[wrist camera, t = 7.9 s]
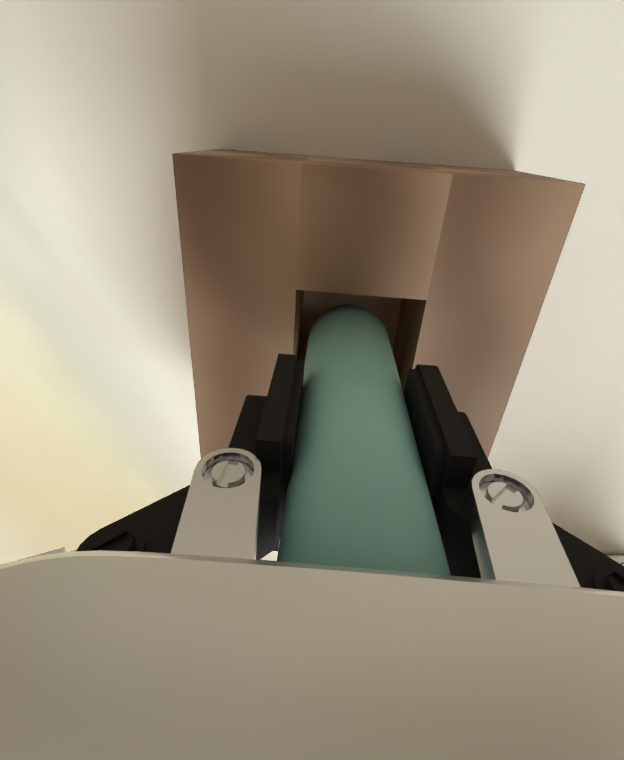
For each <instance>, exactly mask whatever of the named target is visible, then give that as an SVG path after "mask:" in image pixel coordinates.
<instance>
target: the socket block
mask: <svg viewBox="0 0 624 760" xmlns="http://www.w3.org/2000/svg"><path fill="white" fill-rule="evenodd" d="M172 155H173V165H174V176H175V187H176V197H177V208H178V219H179V229H180V240H181V251H182V261H183V272H184V283H185V293H186V304H187V315H188V325H189V336H190V347H191V357H192V368H193V379H194V389H195V400H196V411H197V422H198V432H199V443H200V454H201V459H202V458H203V457H204V456H205V455H207V454H209V453H211V452H213V451H216V450H220V449H225V448H228V447H229V444H230V441H231V438H232V436H233V433H234V430H235V427H236V424H237V421H238V418H239V415H240V413H241V410H242V407H243V404H244V401H245V398H246V396H247V395H258V396H267V395H268V391H269V387H270V383H271V380H272V376H273V372H274V368H275V365H276V361H277V357H278V354H279V353H280V354H293V355H298V360H304V365H305V358H306V351H307V343H308V336H309V332H310V329H311V327H312V325H313V323H314V322H315V320H316V319H317V318H318V317H319V316H320V315H321V314H322V313H324V312H325V311H327V310H328V309H330V308H333V307H335V306H339V305H346V304H352V305H359V306H362V307H365V308H367V309H369V310H371V311H373V312H374V313H375V314H376V315H377V316H378V317H379V318H380V319H381V320H382V321H383V323H384V325H385V327H386V330H387V333H388V337H389V340H390V344H391V348H392V352H393V356H394V360H395V363H396V367H397V371H398V375H399V379H400V383H401V386H402V390H403V393H404V388H405V384H406V379H407V374H408V370H409V369H415V367H416V365H417V364H421V365H433V366H438V368H439V370H440V372H441V375H442V377H443V379H444V382H445V384H446V386H447V388H448V391H449V393H450V395H451V397H452V400H453V402H454V404H455V406H456V409H457V411H459V412H464V413H466V415H467V416H468V418H469V420H470V423H471V425H472V427H473V429H474V431H475V433H476V435H477V438H478V440H479V442H480V444H481V446H482V448H483V450H484V452H485V455H486V457H487V459H488V456H489V453H490V450H491V447H492V445H493V442H494V439H495V436H496V433H497V431H498V428H499V425H500V422H501V419H502V417H503V414H504V411H505V408H506V405H507V403H508V400H509V397H510V394H511V391H512V389H513V386H514V383H515V380H516V377H517V375H518V372H519V369H520V366H521V363H522V361H523V358H524V355H525V352H526V349H527V347H528V344H529V341H530V338H531V335H532V333H533V330H534V327H535V324H536V321H537V319H538V316H539V313H540V310H541V307H542V305H543V302H544V299H545V296H546V293H547V291H548V288H549V285H550V282H551V279H552V277H553V274H554V271H555V268H556V265H557V263H558V260H559V257H560V254H561V251H562V249H563V246H564V243H565V240H566V237H567V235H568V232H569V229H570V226H571V223H572V221H573V218H574V215H575V212H576V209H577V207H578V204H579V201H580V198H581V195H582V193H583V190H584V187H585V184H583V183H577V182H572V181H567V180H561V179H556V178H551V177H545V176H540V175H534V174H529V173H524V172H518V171H509V170H495V169H481V168H468V167H454V166H440V165H426V164H413V163H399V162H385V161H372V160H358V159H344V158H330V157H317V156H303V155H289V154H276V153H262V152H248V151H235V150H221V149H218V150H207V151H197V152H186V153H175V154H172Z"/></svg>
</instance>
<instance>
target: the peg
mask: <svg viewBox="0 0 624 760" xmlns="http://www.w3.org/2000/svg"><path fill="white" fill-rule="evenodd" d="M277 561H280V562H293V563H306V564H318V565H331V566H343V567H355V568H367V569H378V570H390V571H402V572H414V573H426V574H437V575H449V576H451V574H450V570H449V566H448V562H447V558H446V555H445V551H444V547H443V543H442V539H441V535H440V532H439V528H438V524H437V520H436V516H435V513H434V509H433V505H432V501H431V497H430V493H429V490H428V486H427V482H426V478H425V474H424V470H423V467H422V463H421V459H420V455H419V451H418V448H417V444H416V440H415V436H414V432H413V428H412V425H411V421H410V417H409V413H408V409H407V405H406V402H405V398H404V394H403V390H402V386H401V383H400V379H399V375H398V371H397V367H396V363H395V360H394V356H393V352H392V348H391V344H390V340H389V337H388V333H387V330H386V327H385V325H384V323H383V321H382V320H381V319H380V318H379V317H378V316H377V315H376V314H375V313H374V312H373V311H371V310H369V309H367V308H365V307H362V306H359V305H352V304H346V305H339V306H335V307H333V308H330V309H328V310H327V311H325V312H324V313H322V314H321V315H320V316H319V317H318V318H317V319H316V320H315V322H314V323H313V325H312V327H311V329H310V332H309V336H308V343H307V351H306V358H305V365H304V378H303V390H302V398H301V405H300V413H299V420H298V428H297V435H296V443H295V450H294V458H293V465H292V473H291V480H290V482H289V484H288V487H287V493H286V500H285V508H284V515H283V522H282V529H281V536H280V543H279V550H278V557H277Z"/></svg>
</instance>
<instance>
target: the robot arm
mask: <svg viewBox="0 0 624 760" xmlns="http://www.w3.org/2000/svg"><path fill="white" fill-rule="evenodd" d="M303 378H304V360H298V355H293V354H280V353H279V354H278V357H277V361H276V365H275V368H274V372H273V376H272V380H271V383H270V387H269V391H268V395H267V396H258V395H247V396H246V398H245V401H244V404H243V407H242V410H241V413H240V415H239V418H238V421H237V424H236V427H235V430H234V433H233V436H232V438H231V441H230V444H229V447H228V448H225V449H220V450H216V451H213V452H211V453H209V454H207V455H205V456H204V457H203V458H202V459H201V460H200V461H199V462H198V464H197V465H196V467H195V470H194V473H193V477H192V480H191V484H190V485H189V486H187V487H185V488H183V489H181V490H179V491H177V492H175V493H173V494H171V495H169V496H167V497H164V498H162V499H160V500H158V501H156V502H154V503H152V504H150V505H148V506H146V507H144V508H142V509H140V510H138V511H136V512H134V513H132V514H130V515H128V516H126V517H124V518H122V519H120V520H118V521H116V522H114V523H112V524H110V525H108V526H106V527H104V528H102V529H100V530H98V531H96V532H95V533H93V534H92V535H90V536H89V537H88V538H87V539H86V540H85V541H84V542H83V543H81V544H80V546H79V547H78V549H77V550H74V551H71V552H66V550H65V547H63V548H60V549H56V550H53V551H49V552H46V553H42V554H39V555H35V556H32V557H28V558H24V559H21V560H17V561H14V562H10V563H5V564H1V565H0V760H624V566H623V565H621V564H619V563H618V562H616V561H614V560H613V559H611V558H610V557H608V556H606V555H605V554H603V553H601V552H600V551H598V550H596V549H595V548H593V547H591V546H590V545H588V544H587V543H585V542H583V541H582V540H580V539H578V538H577V537H575V536H573V535H572V534H570V533H568V532H567V531H565V530H563V529H562V528H560V527H559V526H557V525H555V524H554V523H552V522H551V519H550V517H549V515H548V513H547V510H546V508H545V506H544V504H543V501H542V499H541V497H540V495H539V494H538V492H537V491H536V489H535V488H534V487H533V486H531V485H530V484H529V483H528V482H527V481H525V480H524V479H522V478H521V477H519V476H517V475H514V474H512V473H510V472H506V471H502V470H497V469H492V467H491V465H490V463H489V461H488V459H487V457H486V455H485V452H484V450H483V448H482V446H481V444H480V442H479V440H478V438H477V435H476V433H475V431H474V429H473V427H472V425H471V423H470V420H469V418H468V416H467V415H466V413H464V412H459V411H457V409H456V406H455V404H454V402H453V400H452V397H451V395H450V393H449V391H448V388H447V386H446V384H445V382H444V379H443V377H442V375H441V372H440V370H439V368H438V366H433V365H421V364H417V365H416V367H415V369H409V370H408V374H407V379H406V384H405V388H404V393H403V394H404V398H405V402H406V405H407V409H408V413H409V417H410V421H411V425H412V428H413V432H414V436H415V440H416V444H417V448H418V451H419V455H420V459H421V463H422V467H423V470H424V474H425V478H426V482H427V486H428V490H429V493H430V497H431V501H432V505H433V509H434V513H435V516H436V520H437V524H438V528H439V532H440V535H441V539H442V543H443V547H444V551H445V555H446V558H447V562H448V566H449V570H450V574H451V576H449V575H437V574H426V573H414V572H402V571H390V570H378V569H367V568H355V567H343V566H331V565H318V564H306V563H293V562H280V561H268V560H261V558H263V557H264V556H266V555H267V554H269V553H270V552H271V551H278V548H279V541H280V536H281V529H282V522H283V515H284V508H285V500H286V493H287V487H288V484H289V482H290V480H291V473H292V465H293V458H294V450H295V443H296V435H297V428H298V420H299V413H300V405H301V398H302V390H303Z"/></svg>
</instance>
